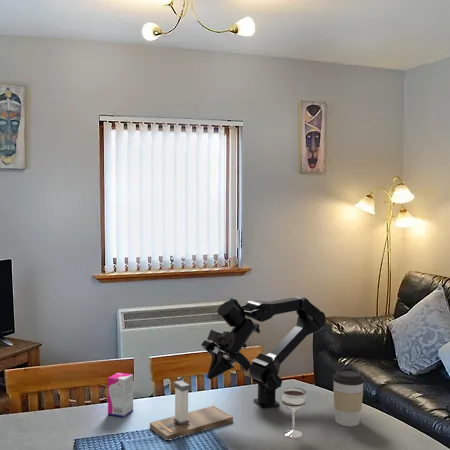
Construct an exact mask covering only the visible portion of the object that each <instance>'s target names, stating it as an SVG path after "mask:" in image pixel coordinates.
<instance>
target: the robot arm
mask: <svg viewBox="0 0 450 450" xmlns="http://www.w3.org/2000/svg"><path fill="white" fill-rule="evenodd" d="M290 312H295V314H296V315H297V316H298V317H297V320H296V324H295V326H294V327H293V328H292V329H291V330H290V331H289V332H288V333H287V334H286V335H285V336H284V337H283V338H282V339H281V340H280V341H279V342H278V343H277V345H275V347H274V348H273V349H272V350H271V351H270V352H268V353H267V354H265V353H262V352H260V353H259V354H258V355H257V356H256V357H255V358H253V359H252V360H251V361H250V360H249V359H248V358H247V357H246V356H245V355H244V354H243V353H241V352H240V351H241V350H242V349H246V348H247V347H248V346H247V344H246V343H247V342H248V340H249V339H250V338H251V336H252V335H253V334H254V333H256V334H260V333H261V329H260V324H259V323H256V322H254V321H257V322H260V323H263V322H266V321H268V320H270V319H272V318H273V317H274V316H277V315H280V314H281V315H282V314H286V313H290ZM217 315H218V316H219V317H220V318H221V319H222V320H223V321H224V322H225V323H226V324H227V325H228V326H229V327H230V328H232V329H231V330H230V331H223V332H222V333H221V332H219V331H215V330H213V329H210V331H209V334H208V336H207V339H204V340H203V342H202V343H201V344H200V346H201V347H202V348H203V349H204V350H205V351H206V352H207V353H208V354H209V355H210V356H211V363H210V366H209V368H208V372H207V376H206V378H207V379H209V380H212V379H214V378H216V377H218V376H220V375H221V374H223V373H225V372H227V371H230V370H231V369H233V370H234V369H235V366H234V365H235V364H238V365H239V368H240V369H241V370H242V371H244V372H248V371H249V373H248V374H249V376H250V378H251V380H252V382H253V383H254V384H257V398H253V402H254V403H255V404H256V405H258V407H260V408H261V409H265V408H271V407H272V408H273V407H279V406H280V405H281V404H280V402H278V400H277V399H276V398H277V397H276V396H277V395H276V393H277V391H276V390H278V388H281V387H282V383H283V379H282V378H281V377H280V376H279V373H280V368H281V364H282V363H284V361H285V360H286V359H288V357H289V356H290V355H291V354H292V352H293V351H294V350H295V349H296V348H298V346H299V345H301V343H302V342H303V341H304V340H305V339H306V338H307V337H308V336H309V335H312V334H314V333H317V332H319V331H320V330H321V329H322V328H324V326H325V325H326V322H327V321H326V320H327V318H326V314H325V312H323V311H321V310H320V309H319V308H318V307H316V306H315V305H314V304H313V303H311V302H310V301H309V299H307V298H306V297H303V296H298V295H296V296H293V297H288V298H282V299H276V300H271V301H265V300H255V299H254V300H252V299H251V300H248V301H247V302H246V304H242V305H241V304H240V303H239V301H238V300H237V299H236V298H233V297H231V298H230V299H229V300H227V301H225V302H224V303H222V304H220V305H219V307H218V309H217ZM251 362H252V363H251Z"/></svg>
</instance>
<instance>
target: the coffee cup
mask: <svg viewBox="0 0 450 450" xmlns="http://www.w3.org/2000/svg"><path fill="white" fill-rule="evenodd" d="M332 380H333V389H332V390H333V405H334V413H335V414H334V415H335V417H334V418H335V419H334V420H335V422H336V423H337V424H338V425H340V426H344V427H356V426H358V425H360V422H361V421H360V419H361V411H362V406H363V397H364V383H365V377H364V376H363V375H361V372H359V371H357V370H355V369H353V368H351V367H345V368H342V369H338V370H337V371H336V372H335V373H334V374H333V375H332Z"/></svg>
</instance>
